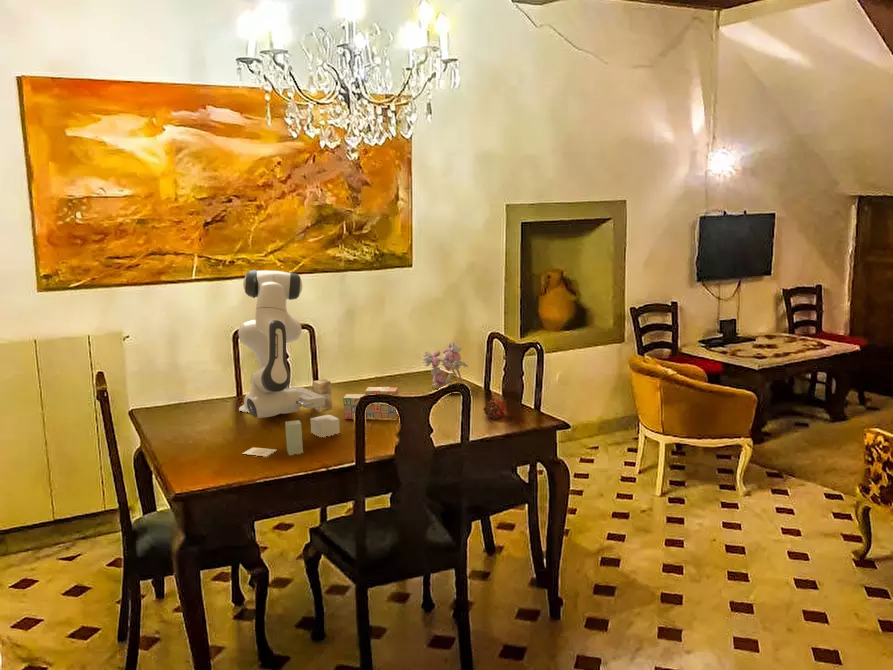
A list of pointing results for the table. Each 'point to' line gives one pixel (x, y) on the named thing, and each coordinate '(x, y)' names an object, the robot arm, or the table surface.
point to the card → (260, 452)
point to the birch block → (322, 388)
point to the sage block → (294, 437)
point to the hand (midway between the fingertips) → (324, 393)
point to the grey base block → (325, 425)
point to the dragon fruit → (495, 408)
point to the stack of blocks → (373, 409)
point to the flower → (445, 364)
